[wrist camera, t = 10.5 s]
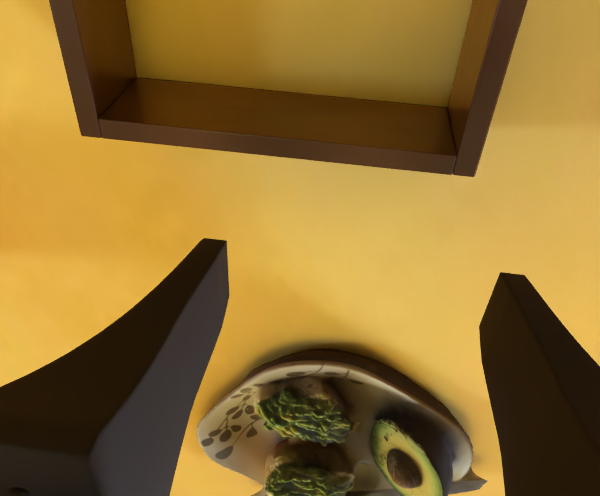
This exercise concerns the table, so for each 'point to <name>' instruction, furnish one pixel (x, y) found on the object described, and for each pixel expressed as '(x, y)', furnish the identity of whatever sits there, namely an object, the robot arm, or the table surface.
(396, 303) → the table surface
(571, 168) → the table surface
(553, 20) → the table surface
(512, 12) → the rectangular frame
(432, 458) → the salad plate
